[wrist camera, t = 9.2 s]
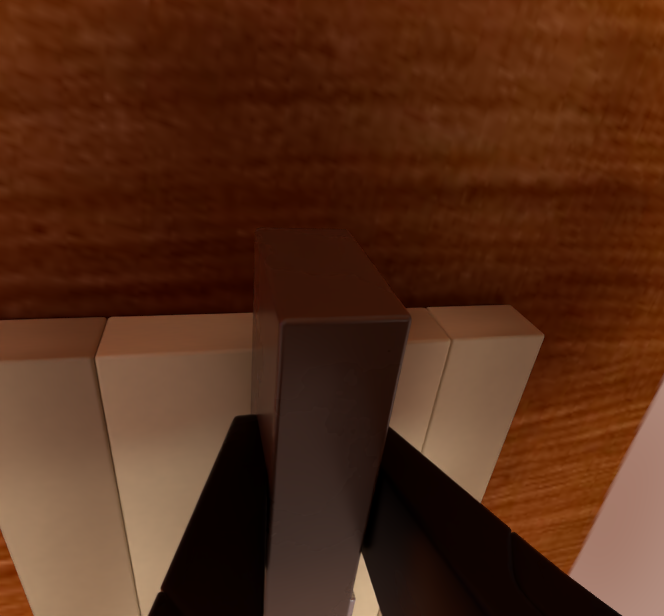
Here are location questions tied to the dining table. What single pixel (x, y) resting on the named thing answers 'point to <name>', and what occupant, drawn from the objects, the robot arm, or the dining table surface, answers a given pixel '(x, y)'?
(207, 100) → the dining table surface
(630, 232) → the dining table surface
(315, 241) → the fork
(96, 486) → the board
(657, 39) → the dining table surface
